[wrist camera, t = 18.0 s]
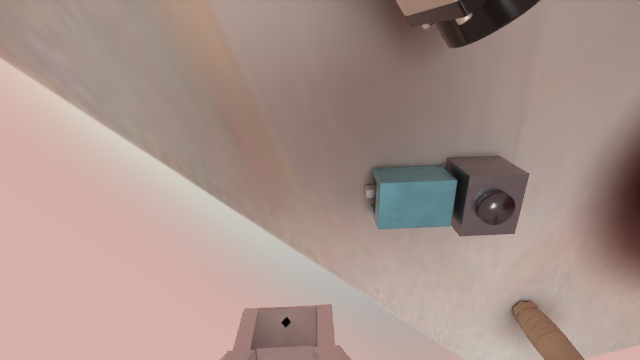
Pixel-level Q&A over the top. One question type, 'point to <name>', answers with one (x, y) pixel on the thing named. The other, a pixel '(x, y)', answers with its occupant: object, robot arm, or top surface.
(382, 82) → the top surface
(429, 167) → the teal storage bin
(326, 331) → the robot arm
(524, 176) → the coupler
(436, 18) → the ball valve
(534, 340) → the handle
